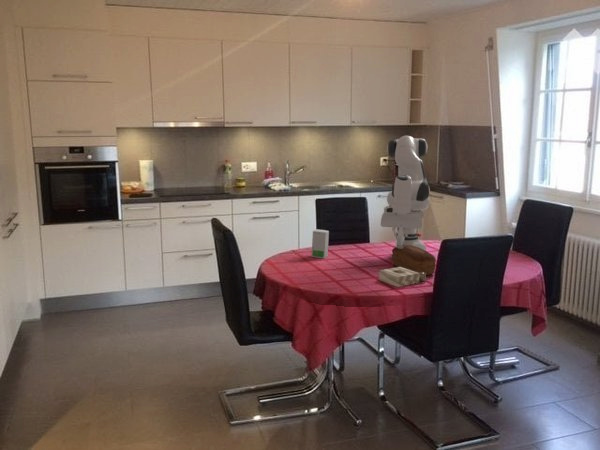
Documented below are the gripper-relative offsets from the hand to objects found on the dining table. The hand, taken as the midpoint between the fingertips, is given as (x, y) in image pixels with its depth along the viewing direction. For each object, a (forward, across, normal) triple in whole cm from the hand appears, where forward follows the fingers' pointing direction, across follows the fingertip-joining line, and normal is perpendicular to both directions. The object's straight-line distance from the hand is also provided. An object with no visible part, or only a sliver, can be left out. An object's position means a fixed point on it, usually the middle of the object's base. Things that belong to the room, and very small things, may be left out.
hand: (400, 236), depth 285 cm
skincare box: (+23, +47, -40) cm, 66 cm away
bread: (+23, -6, -24) cm, 34 cm away
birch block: (+23, 0, 0) cm, 23 cm away
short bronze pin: (+23, -11, -3) cm, 26 cm away
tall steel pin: (+6, 0, 0) cm, 6 cm away
